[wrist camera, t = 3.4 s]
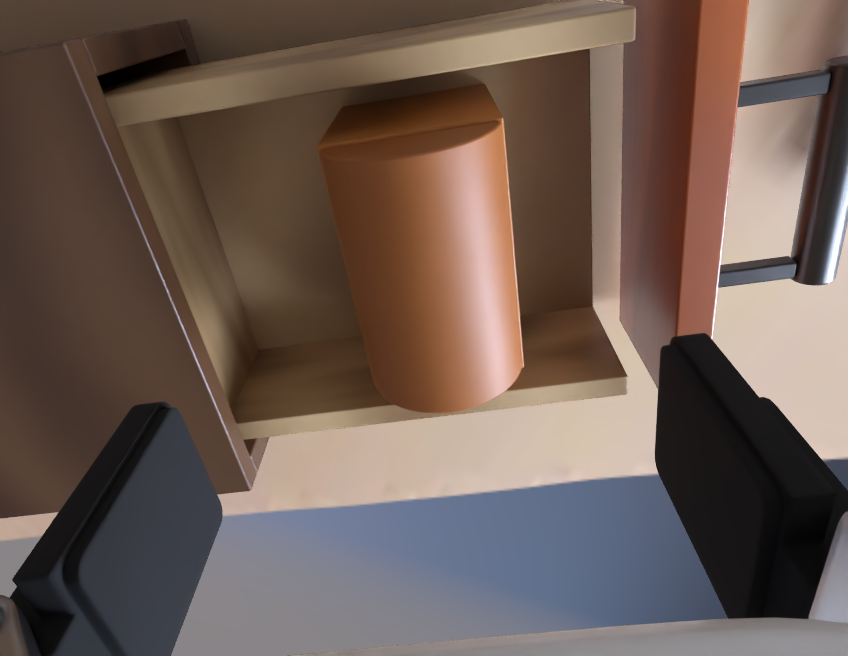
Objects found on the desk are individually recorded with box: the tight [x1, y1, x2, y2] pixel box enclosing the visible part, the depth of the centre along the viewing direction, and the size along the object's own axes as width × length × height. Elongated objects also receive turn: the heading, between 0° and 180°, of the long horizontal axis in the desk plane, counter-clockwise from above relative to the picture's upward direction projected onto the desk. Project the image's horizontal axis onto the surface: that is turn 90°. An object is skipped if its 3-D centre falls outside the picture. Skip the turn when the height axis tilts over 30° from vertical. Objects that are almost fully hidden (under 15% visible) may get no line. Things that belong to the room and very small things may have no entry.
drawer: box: [102, 0, 848, 440], centre depth 20 cm, size 22×14×6 cm, turn 99°
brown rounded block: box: [317, 84, 524, 413], centre depth 19 cm, size 5×8×8 cm, turn 9°
